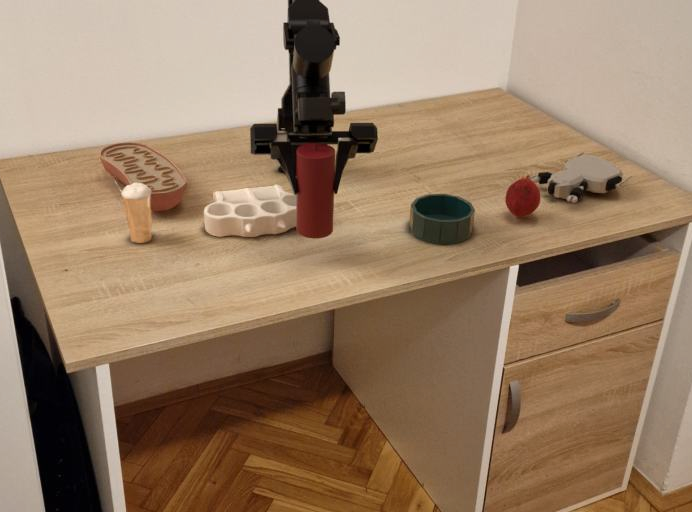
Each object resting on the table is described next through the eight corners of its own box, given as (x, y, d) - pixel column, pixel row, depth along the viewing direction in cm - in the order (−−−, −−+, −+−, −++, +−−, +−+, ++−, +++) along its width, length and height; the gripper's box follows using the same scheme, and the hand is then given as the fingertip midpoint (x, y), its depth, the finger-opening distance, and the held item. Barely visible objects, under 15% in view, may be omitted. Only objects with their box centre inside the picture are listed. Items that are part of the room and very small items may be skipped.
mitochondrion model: (95, 174, 169) (91, 148, 166) (146, 163, 173) (144, 137, 170) (146, 225, 153) (143, 197, 150) (201, 211, 158) (199, 184, 155)
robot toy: (571, 218, 162) (632, 193, 168) (575, 194, 159) (636, 170, 165) (523, 191, 170) (583, 169, 176) (525, 168, 167) (586, 146, 174)
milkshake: (123, 232, 151) (116, 174, 145) (156, 231, 151) (151, 174, 146) (120, 245, 147) (113, 187, 141) (154, 245, 148) (148, 187, 142)
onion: (536, 227, 156) (543, 183, 152) (501, 223, 157) (507, 179, 153) (537, 212, 161) (544, 169, 157) (503, 208, 162) (509, 165, 157)
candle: (290, 225, 144) (290, 141, 136) (323, 218, 146) (324, 135, 138) (305, 241, 140) (306, 156, 132) (339, 234, 142) (341, 150, 134)
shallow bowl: (401, 236, 152) (403, 213, 150) (421, 211, 160) (423, 189, 158) (461, 249, 149) (464, 226, 147) (478, 223, 157) (481, 200, 155)
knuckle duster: (296, 195, 164) (321, 232, 153) (194, 206, 159) (212, 247, 148) (296, 177, 162) (321, 214, 151) (193, 188, 157) (211, 228, 146)
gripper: (248, 69, 132) (252, 175, 129) (379, 69, 133) (385, 173, 131) (249, 103, 143) (252, 201, 140) (370, 102, 144) (375, 199, 142)
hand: (315, 193), depth 138 cm, fingers closed on candle, 5 cm apart
